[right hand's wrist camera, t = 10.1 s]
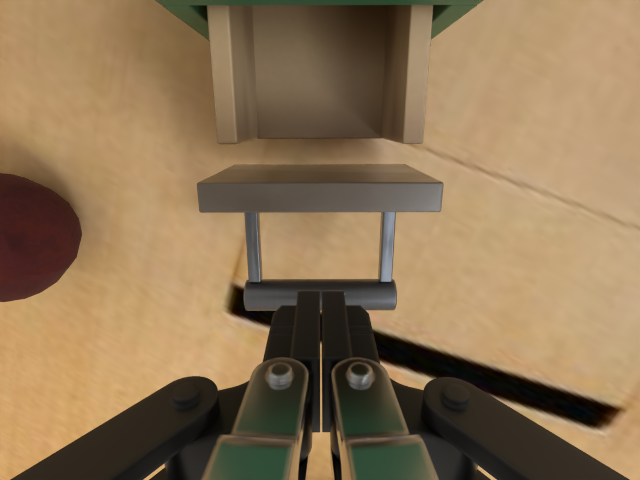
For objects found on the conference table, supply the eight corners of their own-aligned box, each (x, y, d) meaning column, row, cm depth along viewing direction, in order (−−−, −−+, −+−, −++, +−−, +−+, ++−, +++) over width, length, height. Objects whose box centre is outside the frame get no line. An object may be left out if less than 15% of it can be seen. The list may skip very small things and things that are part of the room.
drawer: (399, 275, 24) (429, 335, 17) (241, 276, 24) (210, 335, 17) (428, -183, 17) (495, -374, 10) (210, -183, 17) (141, -373, 10)
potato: (-40, 173, 24) (-178, 201, 17) (79, 152, 23) (-16, 173, 17) (12, 279, 26) (-91, 339, 20) (120, 262, 26) (51, 317, 19)
